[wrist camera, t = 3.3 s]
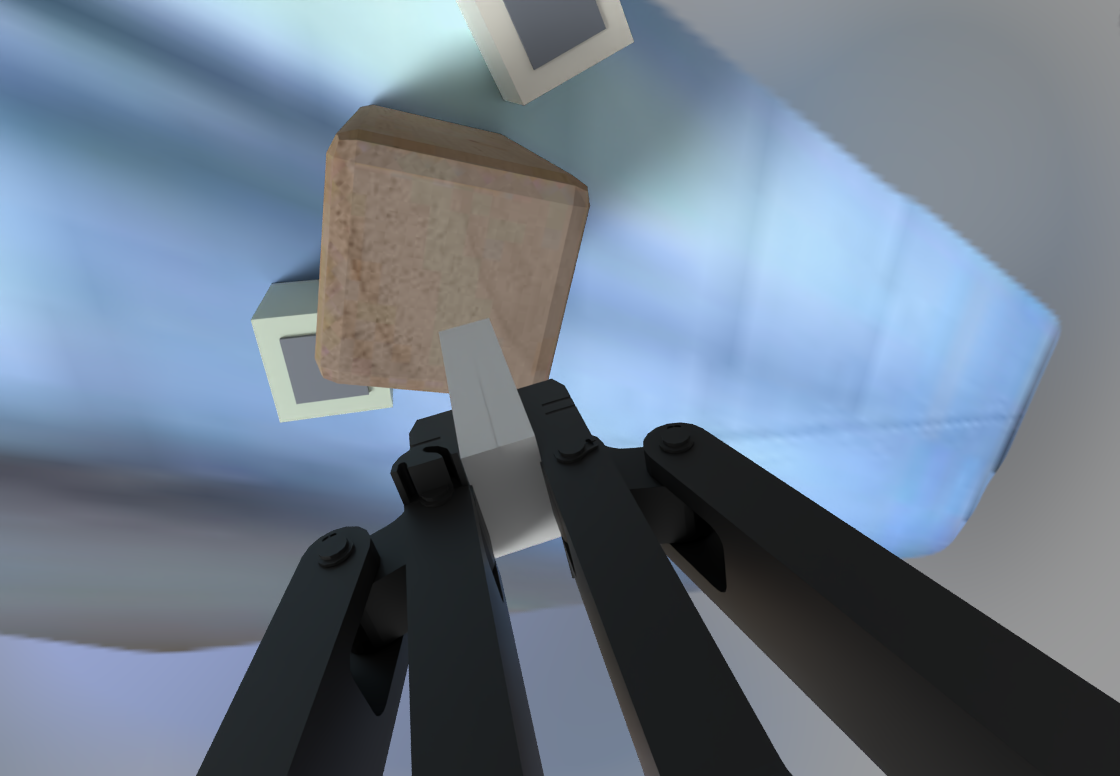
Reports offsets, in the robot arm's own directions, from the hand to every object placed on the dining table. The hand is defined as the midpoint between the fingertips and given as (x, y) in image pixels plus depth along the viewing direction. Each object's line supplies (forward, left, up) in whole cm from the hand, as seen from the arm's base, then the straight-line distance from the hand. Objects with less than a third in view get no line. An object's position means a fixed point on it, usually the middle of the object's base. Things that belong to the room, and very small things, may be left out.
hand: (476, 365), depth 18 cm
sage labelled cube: (+7, -9, -27) cm, 29 cm away
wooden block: (0, 0, -27) cm, 27 cm away
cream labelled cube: (-9, +9, -27) cm, 30 cm away
